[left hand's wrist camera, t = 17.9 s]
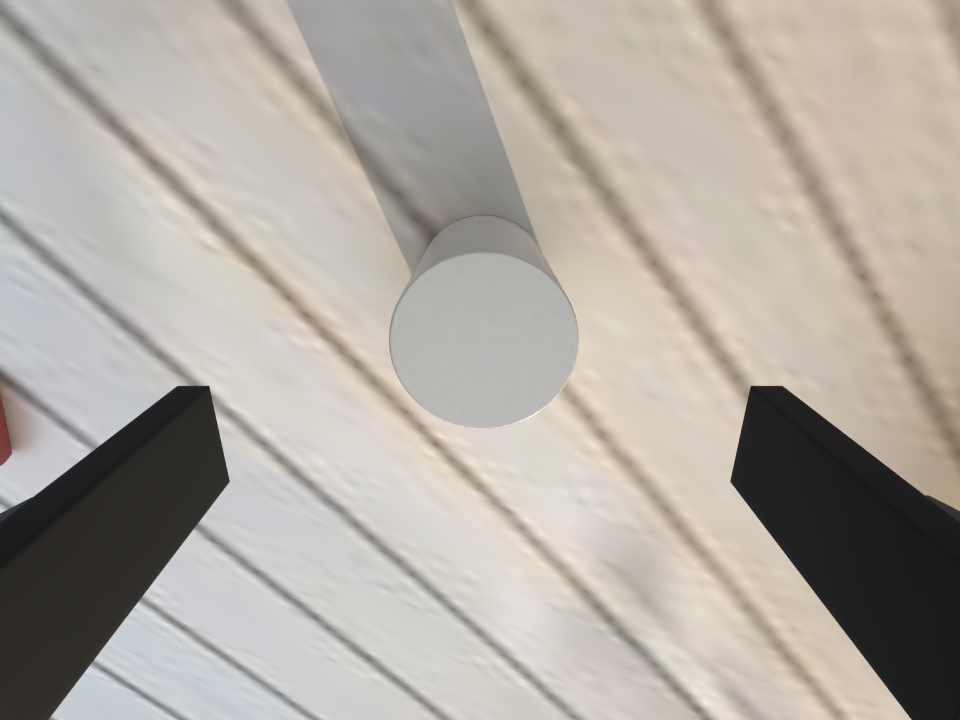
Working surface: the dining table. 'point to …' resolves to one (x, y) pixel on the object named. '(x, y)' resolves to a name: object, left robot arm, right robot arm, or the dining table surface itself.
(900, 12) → the dining table surface
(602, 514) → the dining table surface
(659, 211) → the dining table surface
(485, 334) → the canister
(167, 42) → the dining table surface
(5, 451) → the dental model
